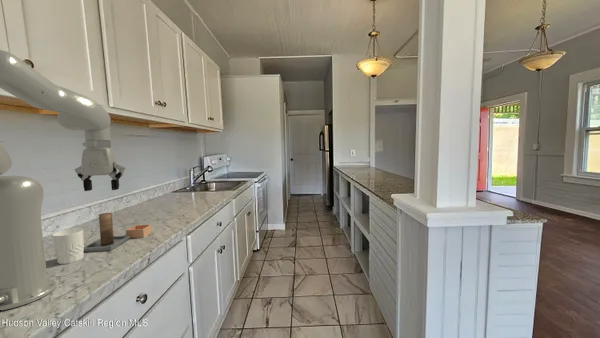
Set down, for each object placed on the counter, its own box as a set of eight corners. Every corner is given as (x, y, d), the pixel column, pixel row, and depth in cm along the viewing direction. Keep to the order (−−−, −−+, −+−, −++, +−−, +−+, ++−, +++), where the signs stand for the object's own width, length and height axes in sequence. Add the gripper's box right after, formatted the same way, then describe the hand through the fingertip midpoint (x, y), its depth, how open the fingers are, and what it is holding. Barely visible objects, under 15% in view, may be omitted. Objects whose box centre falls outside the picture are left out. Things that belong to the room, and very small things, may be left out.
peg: (109, 245, 95) (107, 215, 94) (98, 246, 95) (96, 215, 94) (116, 241, 99) (114, 212, 98) (105, 242, 99) (103, 212, 98)
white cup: (67, 266, 81) (64, 236, 80) (48, 264, 83) (45, 235, 82) (91, 255, 89) (89, 228, 88) (74, 254, 90) (71, 227, 90)
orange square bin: (143, 238, 105) (143, 229, 105) (126, 239, 104) (125, 230, 104) (152, 233, 112) (151, 224, 112) (135, 233, 111) (135, 225, 111)
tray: (111, 252, 92) (110, 246, 92) (82, 253, 91) (81, 248, 91) (130, 240, 104) (129, 235, 103) (104, 241, 103) (104, 236, 102)
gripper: (65, 145, 89) (69, 192, 90) (116, 144, 91) (119, 190, 92) (81, 146, 97) (85, 189, 98) (128, 145, 98) (131, 188, 99)
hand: (101, 190), depth 95 cm, fingers open, 9 cm apart
